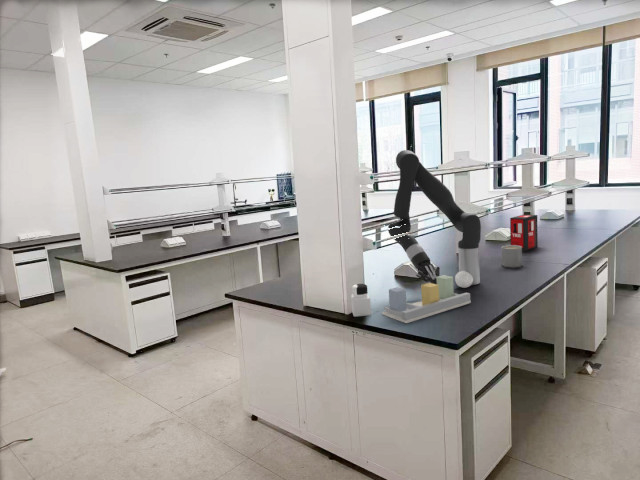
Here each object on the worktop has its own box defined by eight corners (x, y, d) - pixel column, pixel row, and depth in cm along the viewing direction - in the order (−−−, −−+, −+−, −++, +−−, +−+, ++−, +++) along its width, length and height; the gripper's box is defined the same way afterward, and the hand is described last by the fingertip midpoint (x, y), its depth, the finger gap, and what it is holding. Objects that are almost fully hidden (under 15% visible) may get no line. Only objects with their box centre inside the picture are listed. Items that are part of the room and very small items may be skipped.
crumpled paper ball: (460, 290, 205) (460, 274, 204) (451, 286, 212) (451, 270, 211) (476, 288, 207) (475, 271, 206) (466, 284, 214) (466, 268, 213)
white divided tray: (382, 314, 181) (381, 304, 180) (445, 296, 198) (444, 287, 198) (406, 323, 169) (405, 313, 169) (470, 302, 187) (470, 293, 186)
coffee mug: (516, 268, 236) (516, 249, 235) (498, 266, 244) (498, 247, 242) (528, 263, 245) (528, 244, 243) (510, 261, 252) (510, 243, 251)
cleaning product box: (524, 251, 274) (524, 218, 271) (510, 249, 281) (510, 218, 278) (537, 246, 285) (537, 215, 282) (523, 245, 292) (523, 214, 288)
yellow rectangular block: (422, 306, 183) (421, 284, 181) (430, 304, 185) (429, 282, 184) (431, 309, 179) (430, 287, 177) (439, 306, 181) (438, 284, 179)
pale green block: (437, 297, 193) (436, 276, 192) (444, 295, 195) (444, 274, 194) (446, 299, 189) (445, 278, 188) (453, 297, 191) (453, 276, 190)
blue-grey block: (389, 311, 180) (388, 289, 179) (398, 308, 183) (397, 287, 181) (398, 314, 176) (396, 291, 175) (406, 311, 178) (405, 289, 177)
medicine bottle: (369, 309, 188) (367, 281, 186) (371, 315, 181) (369, 286, 179) (351, 311, 188) (349, 283, 186) (353, 316, 181) (351, 287, 179)
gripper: (410, 253, 197) (431, 285, 189) (432, 248, 204) (454, 279, 195) (402, 263, 203) (423, 295, 194) (424, 258, 209) (445, 289, 201)
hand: (438, 287), depth 195 cm, fingers closed
